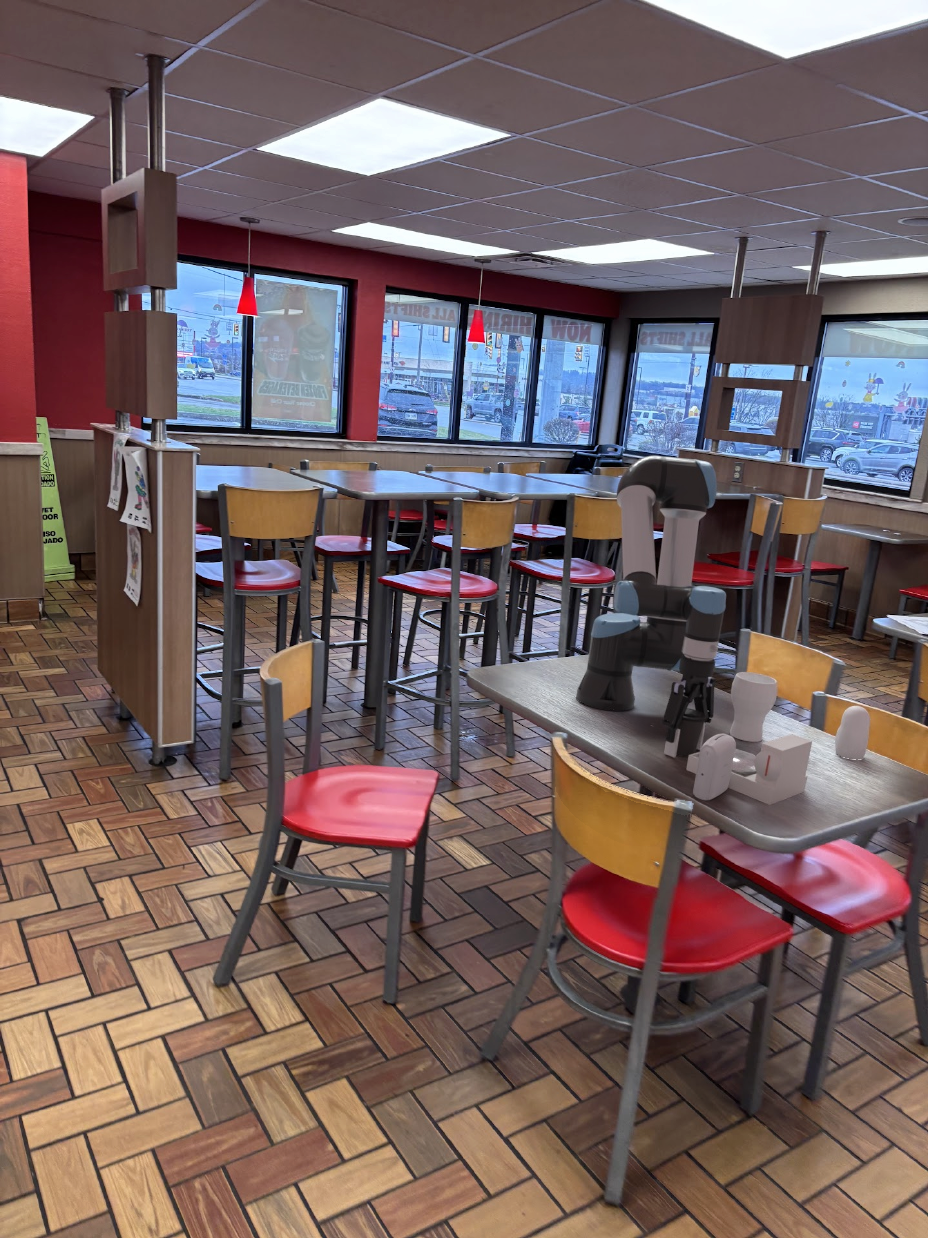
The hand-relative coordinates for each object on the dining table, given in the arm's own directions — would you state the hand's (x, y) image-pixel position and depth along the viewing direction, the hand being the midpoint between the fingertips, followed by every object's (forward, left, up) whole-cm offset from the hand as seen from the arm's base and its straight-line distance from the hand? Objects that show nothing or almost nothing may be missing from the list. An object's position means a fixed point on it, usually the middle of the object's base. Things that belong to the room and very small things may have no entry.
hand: (682, 751), depth 206 cm
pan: (+14, -1, +1) cm, 14 cm away
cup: (+1, +25, 0) cm, 25 cm away
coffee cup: (0, 0, 0) cm, 0 cm away
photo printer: (+17, -14, 0) cm, 22 cm away
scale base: (+17, -1, 0) cm, 17 cm away
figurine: (+21, +38, 0) cm, 43 cm away
